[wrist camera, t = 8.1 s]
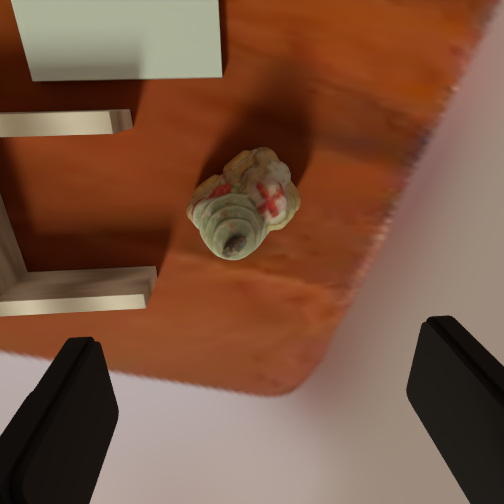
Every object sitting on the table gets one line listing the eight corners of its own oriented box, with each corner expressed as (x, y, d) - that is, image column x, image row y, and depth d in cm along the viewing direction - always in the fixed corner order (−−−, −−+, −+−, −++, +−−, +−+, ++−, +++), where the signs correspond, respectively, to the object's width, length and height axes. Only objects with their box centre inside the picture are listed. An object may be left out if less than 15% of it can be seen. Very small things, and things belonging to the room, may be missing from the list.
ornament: (256, 128, 24) (272, 146, 15) (306, 190, 26) (347, 238, 17) (179, 200, 26) (153, 254, 17) (232, 252, 28) (234, 325, 19)
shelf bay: (130, 109, 23) (108, 111, 19) (157, 278, 29) (145, 308, 25) (-47, 113, 22) (-108, 117, 18) (17, 285, 28) (-19, 317, 24)
